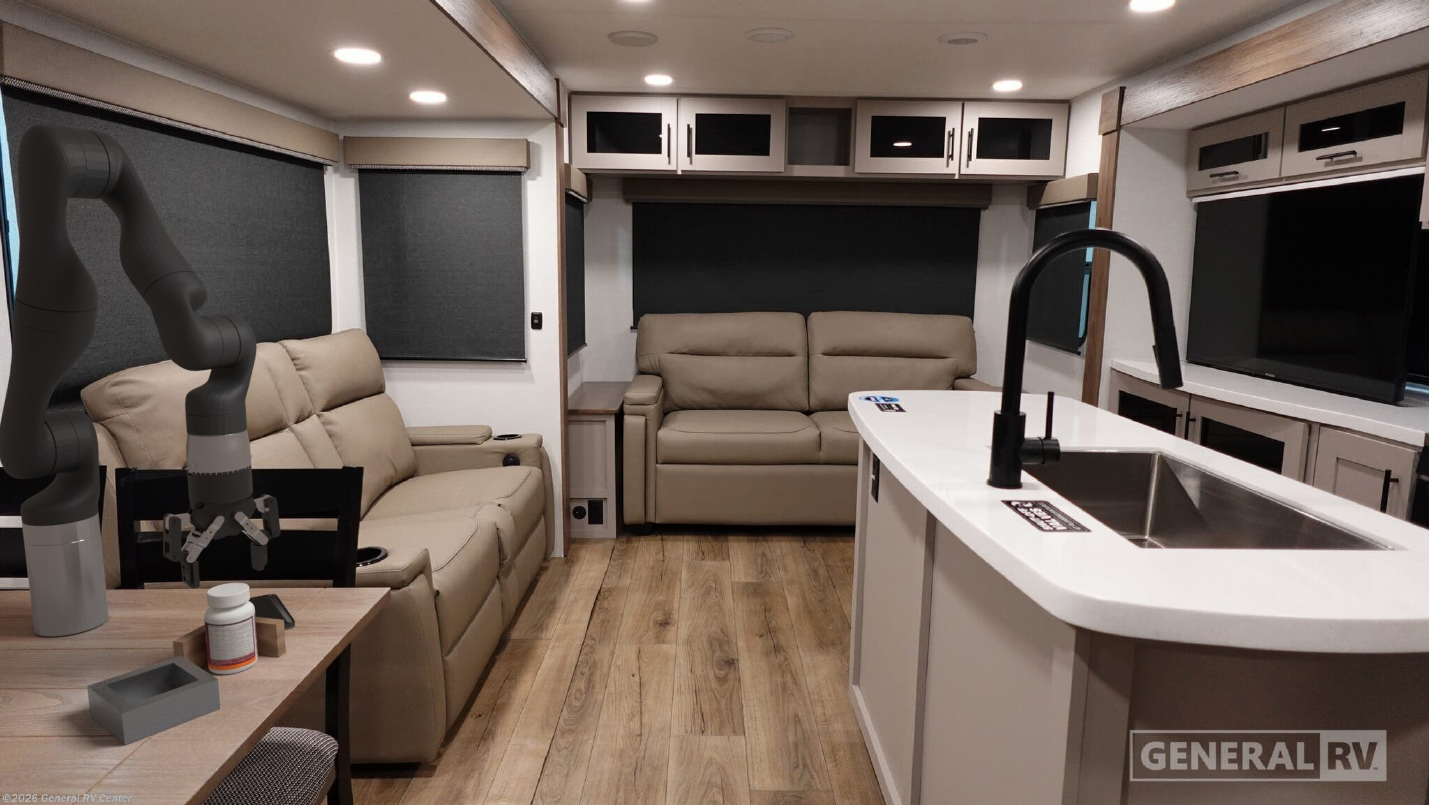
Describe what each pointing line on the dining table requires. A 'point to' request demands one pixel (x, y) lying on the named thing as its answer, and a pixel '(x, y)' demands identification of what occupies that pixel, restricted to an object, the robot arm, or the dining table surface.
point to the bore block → (153, 699)
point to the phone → (272, 609)
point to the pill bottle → (230, 629)
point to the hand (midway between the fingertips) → (226, 577)
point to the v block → (266, 632)
